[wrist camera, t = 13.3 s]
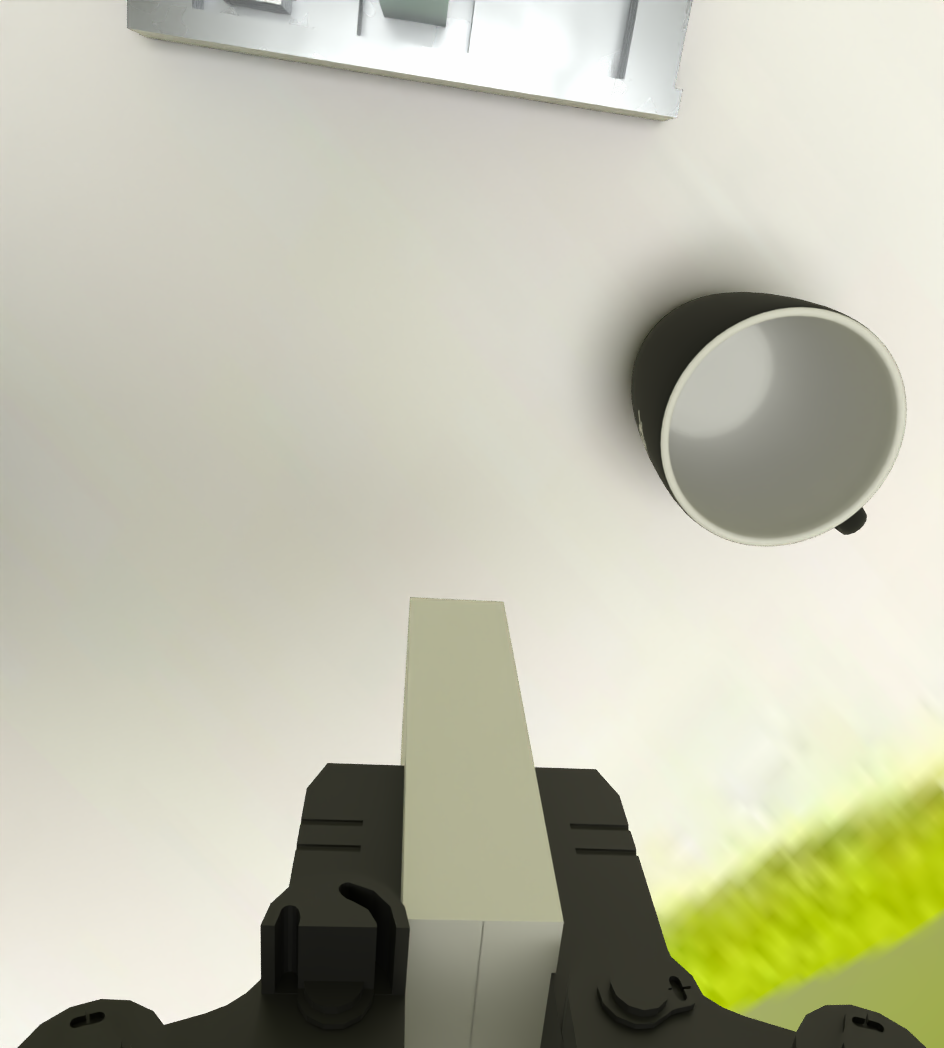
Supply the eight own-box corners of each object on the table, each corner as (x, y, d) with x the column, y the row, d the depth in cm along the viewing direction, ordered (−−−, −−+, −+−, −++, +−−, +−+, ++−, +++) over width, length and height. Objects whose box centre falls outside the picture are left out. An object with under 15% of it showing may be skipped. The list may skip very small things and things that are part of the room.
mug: (568, 371, 41) (608, 433, 32) (720, 228, 39) (811, 248, 30) (728, 541, 45) (807, 641, 35) (876, 417, 43) (1001, 489, 33)
